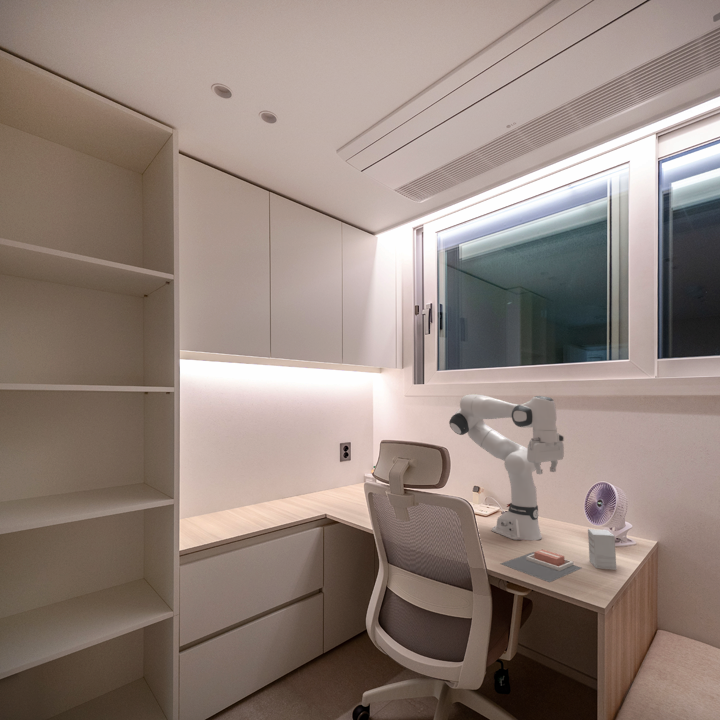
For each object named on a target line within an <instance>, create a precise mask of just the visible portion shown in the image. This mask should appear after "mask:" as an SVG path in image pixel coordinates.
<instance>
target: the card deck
mask: <svg viewBox="0 0 720 720" xmlns="http://www.w3.org/2000/svg"><path fill="white" fill-rule="evenodd" d="M533 552H534V556H535V559H537V560H540V561H543V562H546V563H549V564H552V565H555V566H558V567H559V566H561V565H563V564H565V560H564V559H565V556H564V555H562V554H558V553H555V552H552V551H549V550H546V549H540V550H536V551H533Z"/></svg>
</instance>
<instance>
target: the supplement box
mask: <svg viewBox="0 0 720 720" xmlns="http://www.w3.org/2000/svg"><path fill="white" fill-rule="evenodd" d="M587 536H588V537H587V539H588V556H589V557H588V558H589V562H590V564H592V566H593V567H594V568H595V569H602V570H614V571H617V557H616V554H617V553H616V541H615V540H616V539H615V537H616V536H615V535H614V534H613V533H612V532H611V531H609V530H608V529H596V528H595V529H594V528H588V529H587Z"/></svg>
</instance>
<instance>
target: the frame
mask: <svg viewBox="0 0 720 720" xmlns="http://www.w3.org/2000/svg"><path fill="white" fill-rule="evenodd" d="M526 560H529V561H532V562H535V563H538V564H540V565H543V566H546V567H549V568H552V569H555V570H558V571H561V570H563V569H565V568H568V567H570V566H572V565H574V561H572V560H569V559H566V558H564V560H565V563H566V564H563V565H561V566H559V567H558V566H555V565H552V564H549V563H546V562H543V561H540V560H537V559H535V556H534V554H532V555H529V556H526Z"/></svg>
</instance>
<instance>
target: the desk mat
mask: <svg viewBox="0 0 720 720" xmlns="http://www.w3.org/2000/svg"><path fill="white" fill-rule="evenodd" d="M534 552H535V551H533V552H532V551H531V552H529V553H527V554H524V555H521V556H518V557H516V558H513V559H510V560H507V561H504V562H501V563H500V565H503V566H505V567H508V568H510V569H513V570H516V571H518V572H521V573H524V574H526V575H529V576H531V577H533V578H537V579H540V580H542V581H545V582H547V583H551V582H554V581H556V580H558V579H560V578H562V577H566V576H568V575H569V574H572V573H574V572H576V571H579V570H582V567H581V566H577V565H572V566H570V567H568V568H565V569H563V570H561V571H558V570H555V569H552V568H549V567H546V566H543V565H540V564H538V563H535V562H532V561H529V560H526V556H529V555H532V554H534ZM565 564H566V563H565Z"/></svg>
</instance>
